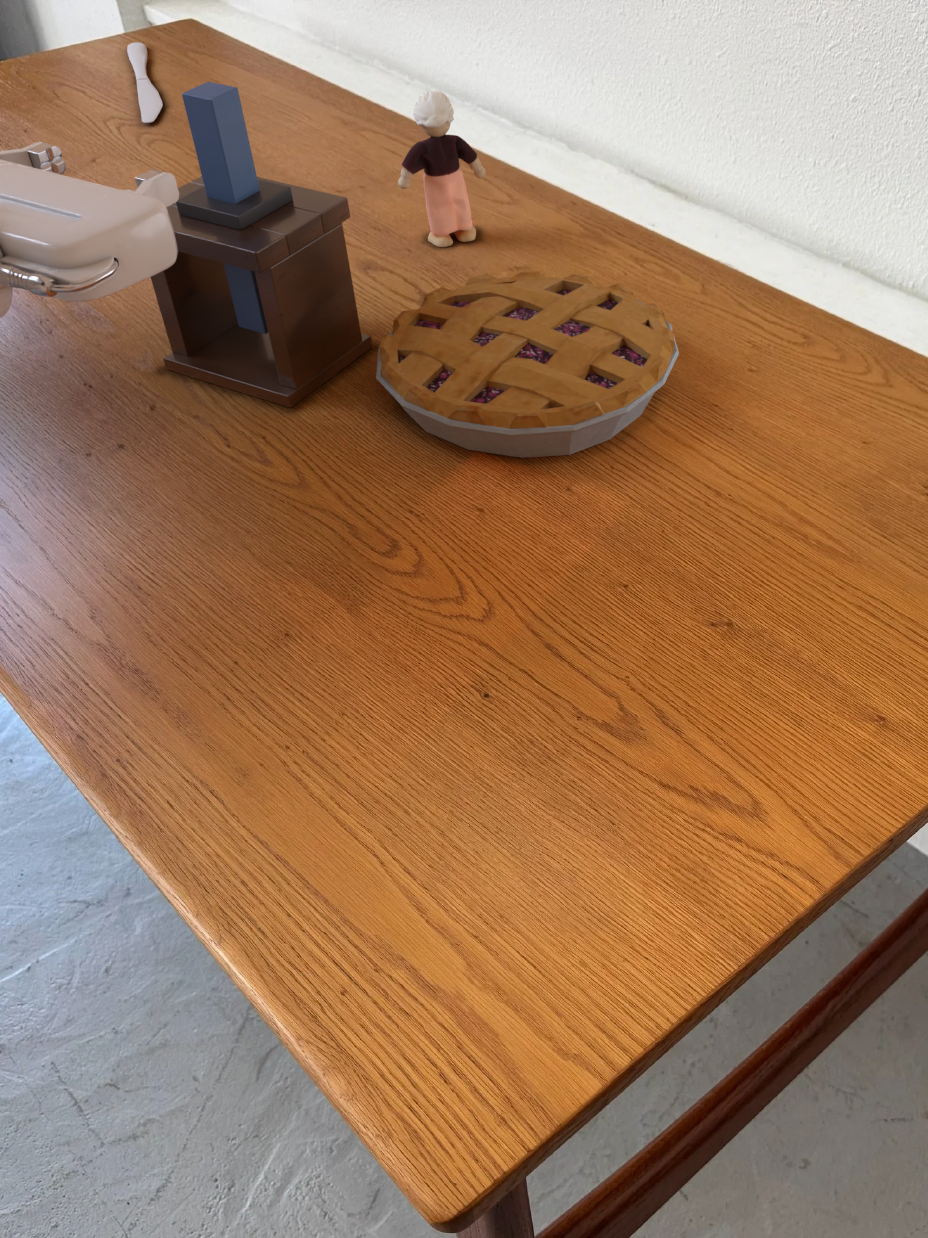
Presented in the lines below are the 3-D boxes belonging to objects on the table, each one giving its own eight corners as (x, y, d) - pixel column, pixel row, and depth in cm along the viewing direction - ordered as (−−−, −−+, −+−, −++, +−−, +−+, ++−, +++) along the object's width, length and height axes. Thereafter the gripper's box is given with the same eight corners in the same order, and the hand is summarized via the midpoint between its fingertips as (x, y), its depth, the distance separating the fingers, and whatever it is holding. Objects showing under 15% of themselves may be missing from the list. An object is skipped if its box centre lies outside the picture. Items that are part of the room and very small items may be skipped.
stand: (290, 408, 91) (255, 252, 82) (166, 369, 95) (120, 217, 86) (372, 347, 97) (347, 197, 89) (252, 313, 101) (218, 166, 93)
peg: (268, 348, 91) (213, 110, 79) (209, 331, 93) (147, 96, 81) (316, 315, 95) (270, 83, 83) (258, 299, 96) (206, 70, 85)
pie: (595, 502, 82) (593, 439, 79) (323, 426, 89) (310, 364, 85) (721, 351, 97) (724, 292, 93) (479, 295, 103) (473, 238, 100)
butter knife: (152, 39, 150) (125, 40, 149) (165, 120, 131) (135, 122, 130) (153, 44, 150) (126, 46, 149) (166, 126, 131) (136, 128, 131)
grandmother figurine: (473, 220, 114) (459, 76, 105) (495, 235, 112) (482, 89, 103) (399, 242, 111) (378, 95, 102) (420, 258, 108) (400, 109, 100)
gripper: (45, 241, 63) (229, 147, 72) (-222, 167, 69) (-23, 90, 78) (83, 352, 67) (252, 251, 76) (-172, 273, 74) (11, 188, 83)
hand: (110, 169), depth 77 cm, fingers open, 8 cm apart
